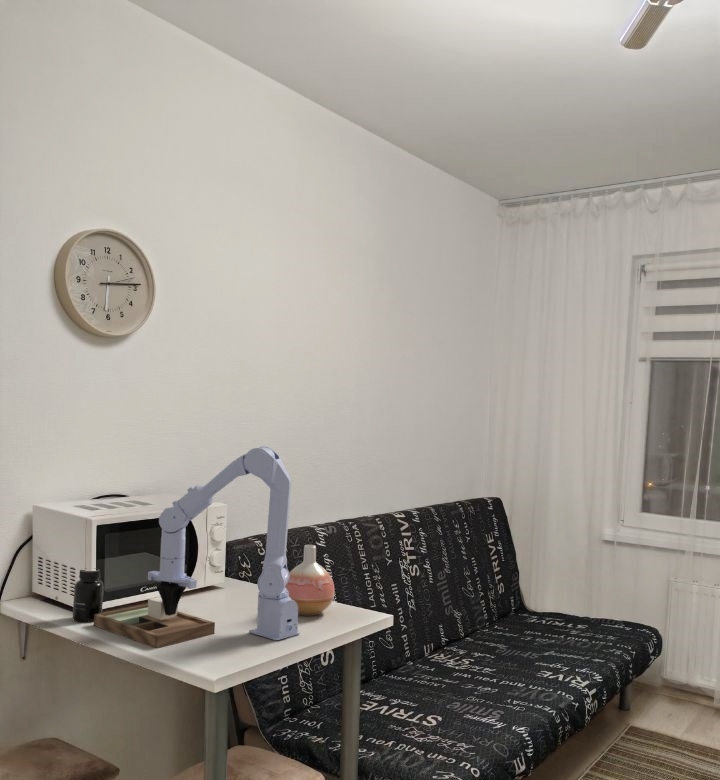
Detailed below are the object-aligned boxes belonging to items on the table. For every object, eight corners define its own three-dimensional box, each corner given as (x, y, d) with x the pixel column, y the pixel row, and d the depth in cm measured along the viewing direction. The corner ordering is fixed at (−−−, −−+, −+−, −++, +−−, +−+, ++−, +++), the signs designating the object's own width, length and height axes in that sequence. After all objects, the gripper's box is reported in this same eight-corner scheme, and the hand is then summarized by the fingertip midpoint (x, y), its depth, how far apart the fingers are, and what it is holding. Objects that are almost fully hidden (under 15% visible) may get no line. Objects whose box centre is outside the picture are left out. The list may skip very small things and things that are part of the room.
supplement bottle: (71, 623, 186) (73, 573, 186) (73, 616, 192) (75, 567, 193) (101, 622, 188) (103, 572, 188) (102, 615, 194) (104, 567, 194)
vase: (310, 623, 193) (312, 552, 193) (270, 613, 201) (273, 545, 202) (344, 613, 204) (346, 545, 204) (305, 604, 212) (307, 539, 213)
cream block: (177, 615, 188) (178, 599, 188) (160, 619, 184) (161, 602, 184) (164, 611, 191) (165, 595, 192) (147, 615, 187) (148, 599, 188)
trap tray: (214, 633, 181) (214, 622, 181) (157, 648, 169) (157, 636, 169) (150, 613, 197) (150, 603, 197) (93, 625, 185) (94, 614, 185)
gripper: (206, 558, 184) (204, 616, 184) (164, 551, 192) (161, 606, 192) (184, 563, 179) (182, 622, 178) (142, 554, 186) (139, 611, 186)
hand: (170, 614), depth 185 cm, fingers closed
